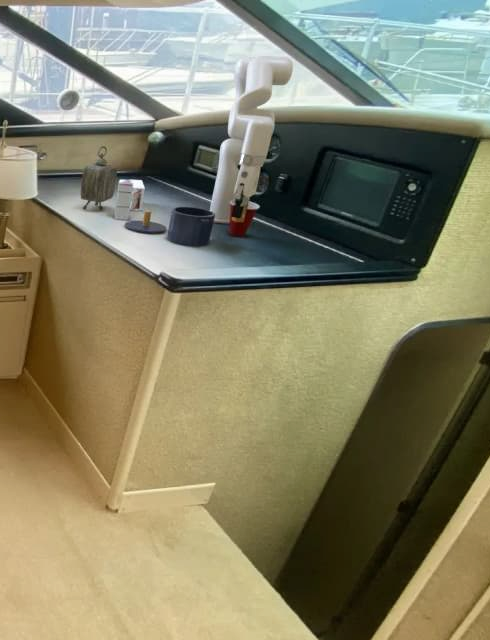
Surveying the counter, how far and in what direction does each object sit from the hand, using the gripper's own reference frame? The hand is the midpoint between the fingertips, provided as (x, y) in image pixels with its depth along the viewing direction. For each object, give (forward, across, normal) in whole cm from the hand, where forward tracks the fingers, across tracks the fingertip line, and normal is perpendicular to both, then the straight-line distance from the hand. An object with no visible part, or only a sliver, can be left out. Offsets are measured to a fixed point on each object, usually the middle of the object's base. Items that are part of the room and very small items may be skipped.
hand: (238, 215), depth 205 cm
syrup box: (+13, +12, +48) cm, 51 cm away
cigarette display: (+13, +36, +53) cm, 66 cm away
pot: (+12, -1, +15) cm, 19 cm away
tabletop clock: (+13, +18, +63) cm, 66 cm away
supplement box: (+2, 0, 0) cm, 2 cm away
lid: (+12, +4, +34) cm, 36 cm away
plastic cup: (+12, +22, +4) cm, 25 cm away
